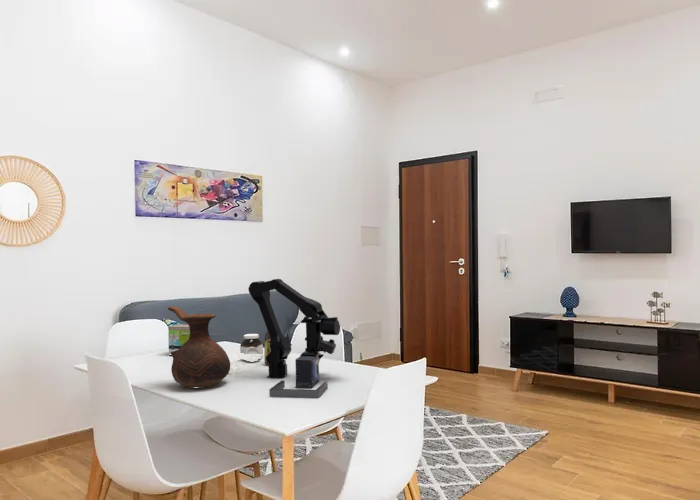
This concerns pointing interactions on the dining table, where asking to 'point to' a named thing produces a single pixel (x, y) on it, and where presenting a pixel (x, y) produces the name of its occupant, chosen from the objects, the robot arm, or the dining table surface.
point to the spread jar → (251, 344)
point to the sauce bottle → (267, 347)
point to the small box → (307, 371)
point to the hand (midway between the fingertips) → (314, 374)
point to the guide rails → (297, 391)
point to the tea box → (178, 336)
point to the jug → (198, 354)
